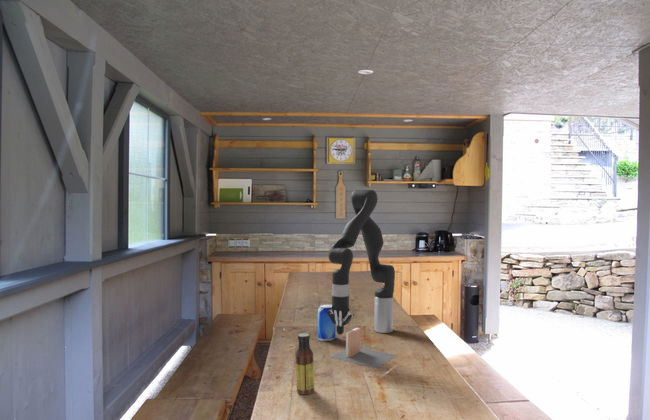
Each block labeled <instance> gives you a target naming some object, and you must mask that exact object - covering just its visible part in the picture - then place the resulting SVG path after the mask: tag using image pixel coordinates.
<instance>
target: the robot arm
mask: <svg viewBox="0 0 650 420" xmlns="http://www.w3.org/2000/svg"><path fill="white" fill-rule="evenodd" d="M350 201H351V205H352V208H353V210H354V212H355V213H354V214H355V216H353V217H352V218H351V219H350V220H349V221H348V222H347V223H346V224H345V226H344V228H343V229H342V231H341V235H340V236H339V238H338V239H337V240H336V241H335V243H334V244H333V245H332V246H331V248H330V249H329V252H328V260H329V262H330V263H331V264H336V265H341V266H340V268H337V269H334V270H333V271H332V275H331V278H332V282H331V283H332V285H331V305H332V307H331V310H329V311H327V314H328V316H329V318H330V319H331V321H332V323H333V324H336V334H337V335H339V336H342V335H343V334H344V333H345V332H344V331H345V326H347V325H348V324H349V323H350V322H351V320H352V319H353V318H355V317H354V316H355V314H354V313H351V311H350V307H349V306H350V286H349V283H350V281H349V279H350V271H351V267H352V264H353V260H354V254H353V253H354V252H353V251H352V249H350V248H352V247H354V246H355V244H356V242H357V239H358V237H359V235H360V233H361V236H362V238H363V243H364V247H365V249H366V253H367V258H368V263H369V270H370V275H371V277H372V280H373V281H374V282H375V283H381V284H383V287H382V288H379V289H376V290H375V291H374V312H373V313H374V318H373V319H374V321H373V322H374V331H375V332H376V333H381V334H388V333H392V332H393V331H394V292H395V281H396V280H395V279H396V271H395V268H394V266H393V264H392V265H391V264H383V263H380V259H379V255H380V253H381V250H382V248H383V246H384V238H383V233H382V231H381V228H380V226H379V225H378V224H377V223H376V222H375V221H374V220H373V219H372V217H371V215H372V213H373V212H374V209H376V206H377V204H378V194H377V192H376V191H375V190H373V189H355V190H353V191H352V193H351V199H350ZM333 313H334V314H333ZM346 317H347V318H346Z"/></svg>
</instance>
